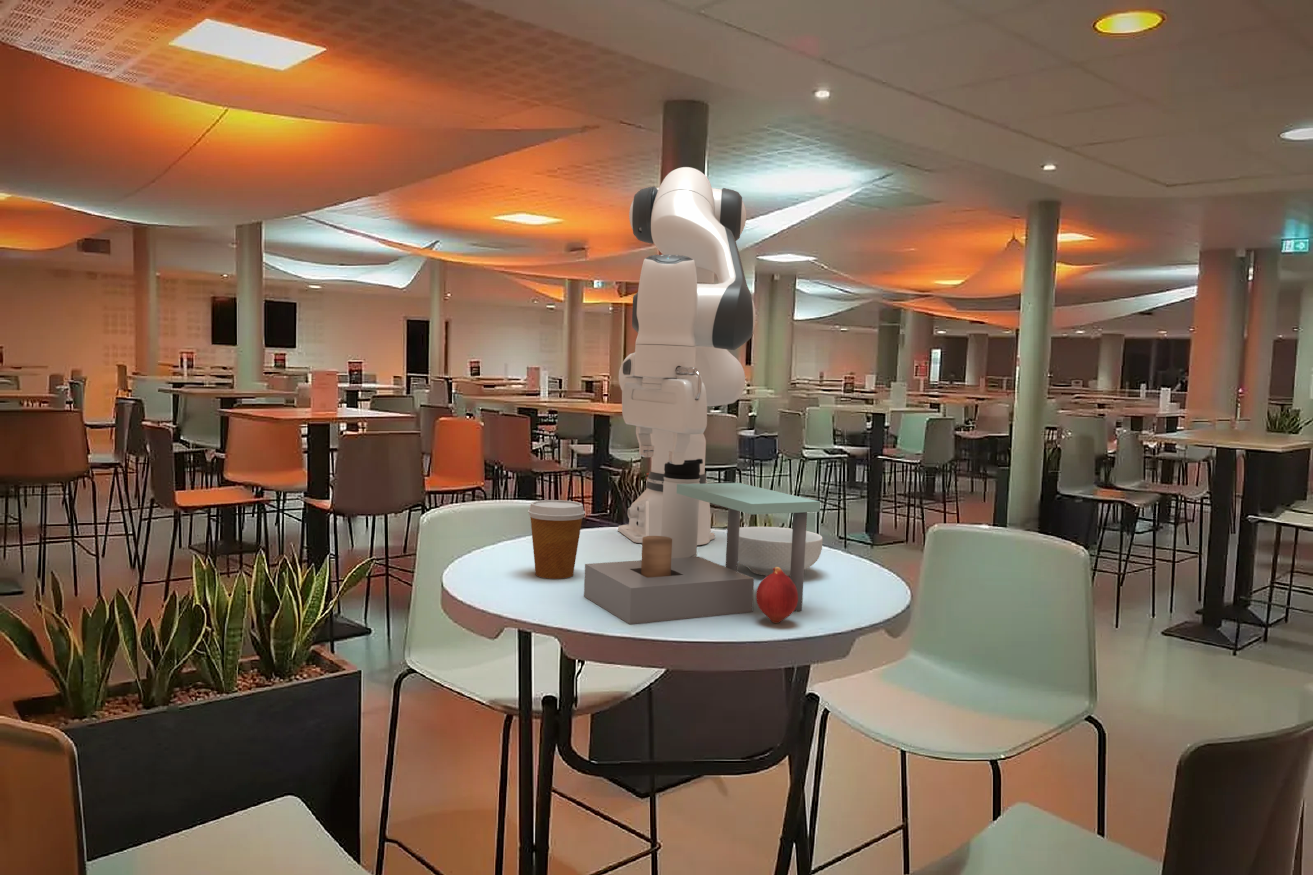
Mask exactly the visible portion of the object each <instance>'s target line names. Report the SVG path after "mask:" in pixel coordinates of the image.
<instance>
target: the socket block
mask: <svg viewBox="0 0 1313 875" xmlns="http://www.w3.org/2000/svg"><path fill="white" fill-rule="evenodd" d="M641 562H642V559H641V560H628V561H627V560H626V561H612V562H611V561H609V562H595V563H594V562H593V563H584V584H583V597H584V598H586V599H588V600H589V601H591V602H592V603H595V604H596V605H597V606H599V607H600V608H602V609H604V610H605V611H607V612H609V613H610V614H612V615H614V616H616V617H617V618H618V619H620V620H622V621H623V622H625V623H626V624H628V625H635V624H644V623H645V624H647V623H655V622H664V621H666V622H667V621H674V620H675V621H676V620H683V619H694V618H695V619H696V618H703V617H713V616H722V615H723V616H725V615H736V614H743V613H745V614H746V613H752V612H753V606H754V605H753V603H754V602H753V601H754V582H755V578H754V577H752V576H749V575H746V574H745V573H742V572H739V571H738V570H737V571H734V570H732V569H729V568H727V567H726V566H724V565H721V564H720V563H716V562H714V561H711V560H708V559H705V558H704V557H701V556H696V557H685V558H671V576H663V577H649V578H647V577H645V576H643V575H641Z"/></svg>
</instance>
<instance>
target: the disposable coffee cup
mask: <svg viewBox="0 0 1313 875" xmlns="http://www.w3.org/2000/svg"><path fill="white" fill-rule="evenodd" d="M529 506H530V507H529V509H528V510H527V513H528V516H529V517H530V527H531V528H530V529H531V539H532V550H533V552H532V553H533V560H534V572H535V576H537V577H539V578H543V579H550V580H551V579H552V580H559V579H568V577H569V578H571V577H573V576H574V573H575V572H574V571H575V564H576V559H577V553H578V548H579V540H580V533H581V528H582V523H583V522H582V521H583V518H584V515H585V514H586V511H585V510H584V505H583V503H581V502H577V501H572V500H560V499H558V500H557V499H544V500H543V499H542V500H536V501H531V502H530V505H529Z"/></svg>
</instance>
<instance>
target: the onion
mask: <svg viewBox="0 0 1313 875" xmlns="http://www.w3.org/2000/svg"><path fill="white" fill-rule="evenodd" d="M773 570H774V571H773V573H772V574H770V575H768V576H765V577H764V578H763V579H762V580H760V581H761V582H760V583H759V584H758V586H757V589H756V593H755V599H756V605H757V606H758V609H760V611H761V612H762V613H763V614H764V615H765V616H766V617H767V618H768V619H769V620H770V621H771V622H772V623H773V624H778V623H780V622H782V621H783V620H785V619H786V618H788V617H789V616H790V615H791V614H793V612H795V611H794V610H795V608H796V606H797V602H798V593H797V589H796V586H795V584H794V583H793V581H792V580H791V579H790V576H787V575H786V574H785V573H784V572H783V571H782V570H781V569H780V568H779V567H775V568H773Z"/></svg>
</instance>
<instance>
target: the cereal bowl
mask: <svg viewBox="0 0 1313 875" xmlns="http://www.w3.org/2000/svg"><path fill="white" fill-rule="evenodd" d="M792 532H793V528H788V527H778V526H742V527H741V526H740V528H739V548H738V563H739V564H741V565H742V566H744V567H747V568H748V569H749V570H750V572H752V573H754V574H755V575H760V576H765V577H767V576H768V575H770V574H772V573H773V571H774V570H773V568H775V567H779V568H780V569H781V570H782V571H783V572H784V573H785V574H786V575H787V576H788V577H790V569H791V550H792ZM823 541H824V540H823V536H822V535H821V534H819V533H816V532H813V531H808V530H806V544H805V562H804V570H806V569H809V568H810V567H812V566H813V565H814V564H815V563H816V562H818V560H819V558H820V556H821V553H822V550H823Z"/></svg>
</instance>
